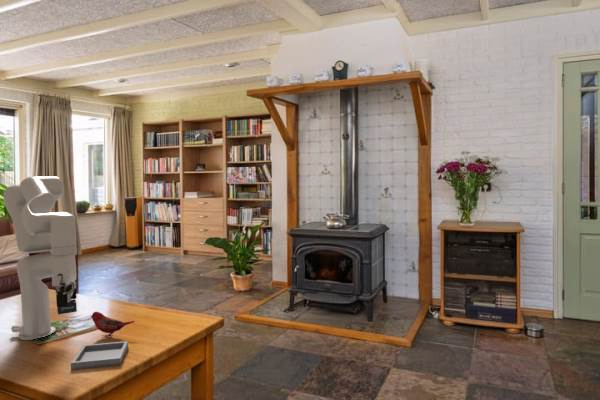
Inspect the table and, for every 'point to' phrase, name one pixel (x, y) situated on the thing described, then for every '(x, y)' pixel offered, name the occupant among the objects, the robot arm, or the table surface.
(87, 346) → the tray
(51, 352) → the table surface
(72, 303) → the watch
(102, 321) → the decorative bird figurine
